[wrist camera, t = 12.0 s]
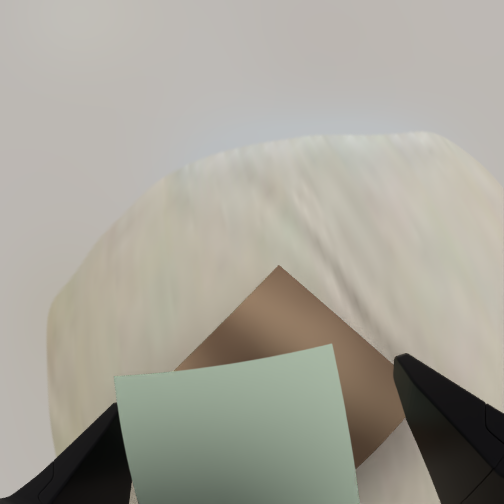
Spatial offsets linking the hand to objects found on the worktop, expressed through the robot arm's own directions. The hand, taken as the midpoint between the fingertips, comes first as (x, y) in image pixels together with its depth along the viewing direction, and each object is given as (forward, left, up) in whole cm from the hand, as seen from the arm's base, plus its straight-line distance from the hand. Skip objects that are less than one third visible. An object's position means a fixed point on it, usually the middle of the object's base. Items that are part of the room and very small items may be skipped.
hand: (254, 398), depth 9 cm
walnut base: (-1, -1, -11) cm, 11 cm away
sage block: (-1, -1, -8) cm, 8 cm away
